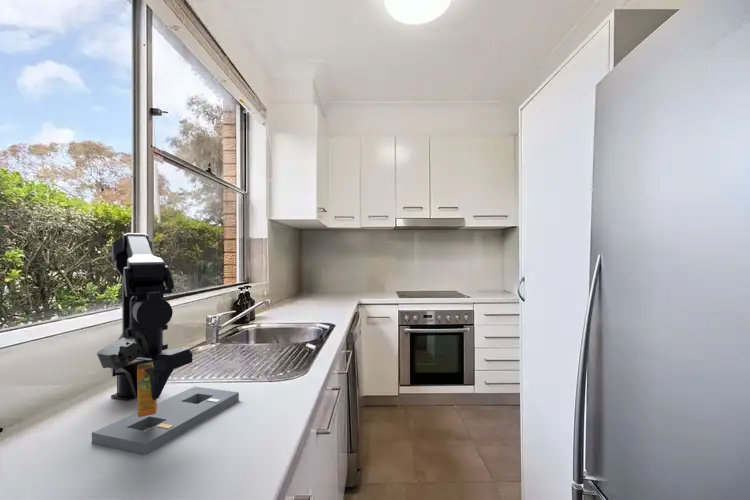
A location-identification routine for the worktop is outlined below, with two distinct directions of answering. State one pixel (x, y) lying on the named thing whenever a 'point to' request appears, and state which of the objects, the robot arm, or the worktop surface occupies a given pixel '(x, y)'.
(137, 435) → the port panel
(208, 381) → the worktop surface
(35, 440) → the worktop surface
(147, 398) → the supplement box
